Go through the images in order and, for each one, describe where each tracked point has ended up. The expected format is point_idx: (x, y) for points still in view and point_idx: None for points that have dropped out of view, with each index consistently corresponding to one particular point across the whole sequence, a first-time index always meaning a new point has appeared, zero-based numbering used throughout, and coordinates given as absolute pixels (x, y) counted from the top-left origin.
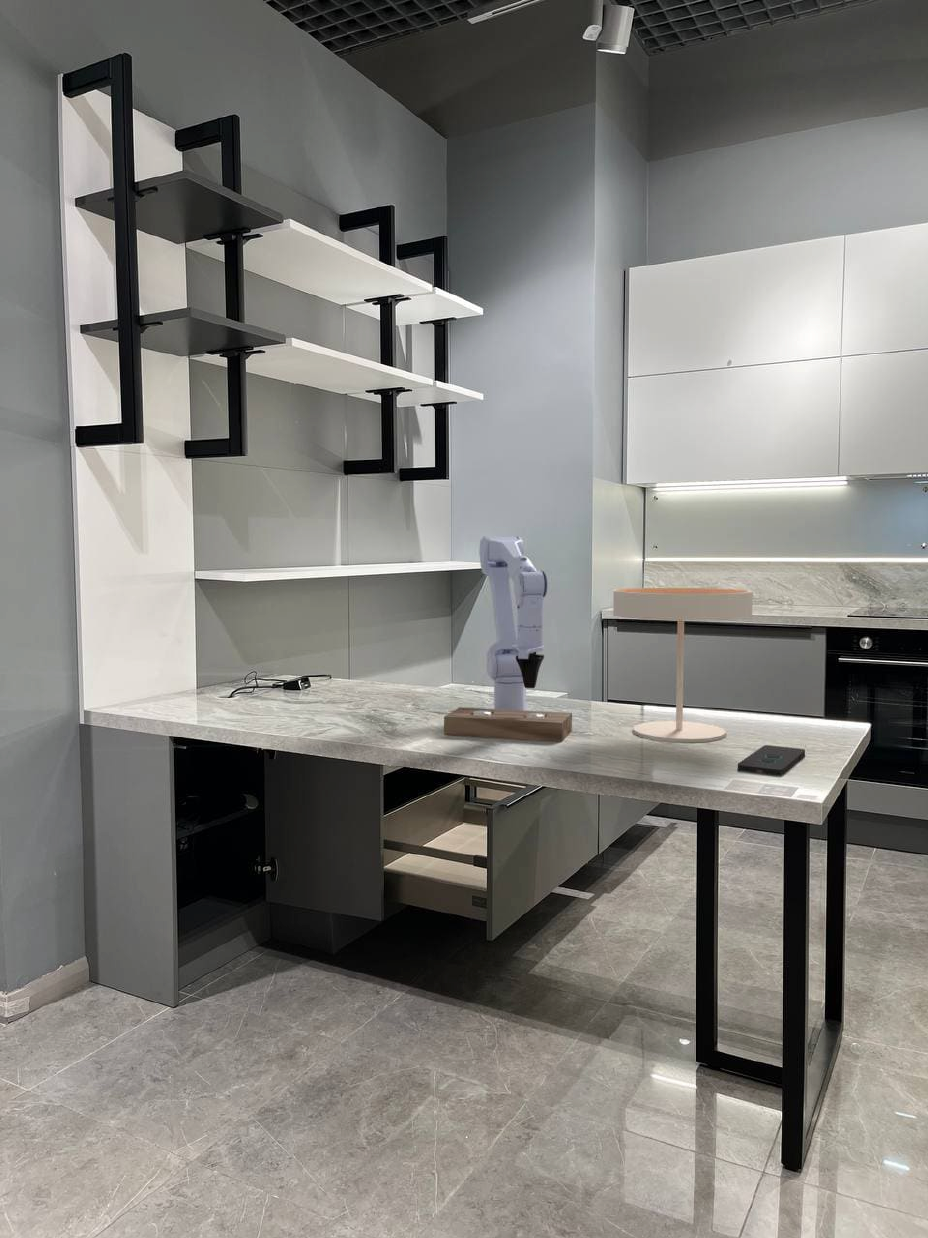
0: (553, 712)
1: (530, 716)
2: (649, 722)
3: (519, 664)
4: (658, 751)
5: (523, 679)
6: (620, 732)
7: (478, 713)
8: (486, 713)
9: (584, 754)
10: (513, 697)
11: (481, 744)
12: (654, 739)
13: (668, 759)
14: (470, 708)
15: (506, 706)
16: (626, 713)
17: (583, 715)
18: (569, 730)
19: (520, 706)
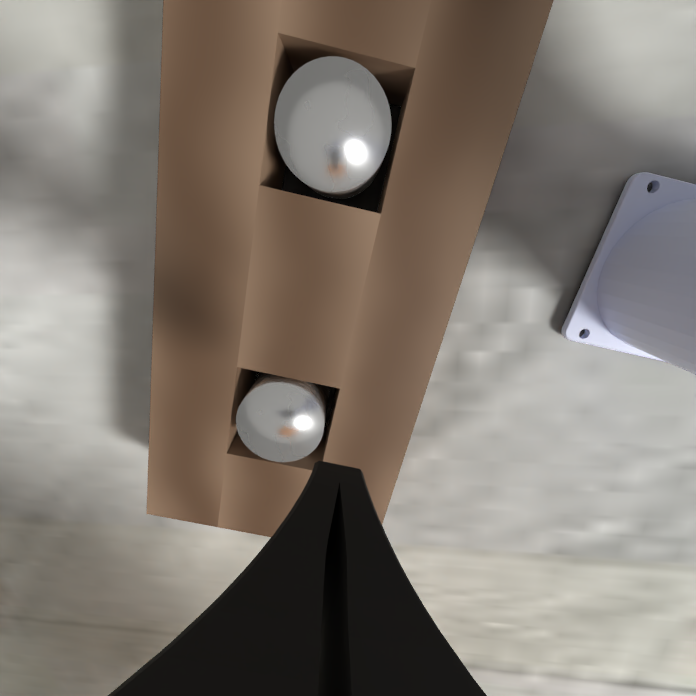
0: (377, 494)
1: (242, 402)
2: None
3: (174, 646)
4: (120, 655)
5: (298, 502)
6: None
7: (282, 101)
8: (289, 160)
9: (19, 509)
10: (684, 329)
11: (50, 165)
12: None
13: (39, 660)
14: (521, 18)
15: (649, 275)
16: (661, 655)
17: (657, 549)
18: None
19: (653, 350)
